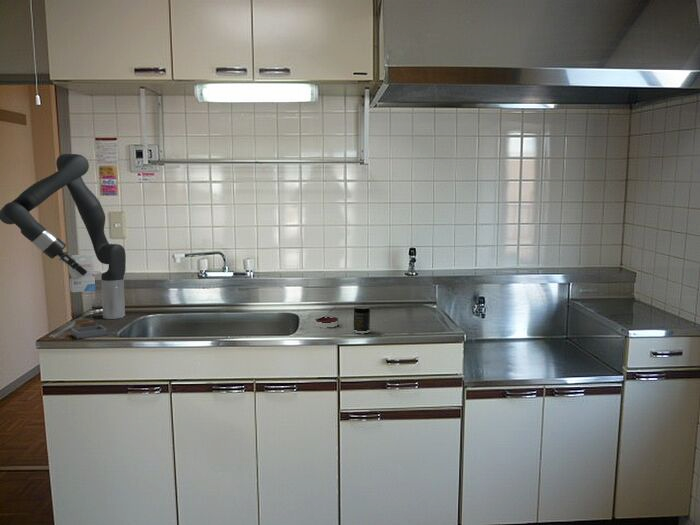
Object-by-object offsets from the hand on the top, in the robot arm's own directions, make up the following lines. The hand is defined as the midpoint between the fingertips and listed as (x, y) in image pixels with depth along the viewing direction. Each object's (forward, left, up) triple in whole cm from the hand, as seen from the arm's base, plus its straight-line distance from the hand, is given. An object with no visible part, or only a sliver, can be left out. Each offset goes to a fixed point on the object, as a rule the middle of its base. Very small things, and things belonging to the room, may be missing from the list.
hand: (84, 272), depth 212 cm
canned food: (+53, +81, -24) cm, 100 cm away
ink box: (0, -1, -7) cm, 7 cm away
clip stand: (0, -1, -23) cm, 23 cm away
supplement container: (+73, +84, -24) cm, 113 cm away
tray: (+9, -2, -23) cm, 25 cm away
